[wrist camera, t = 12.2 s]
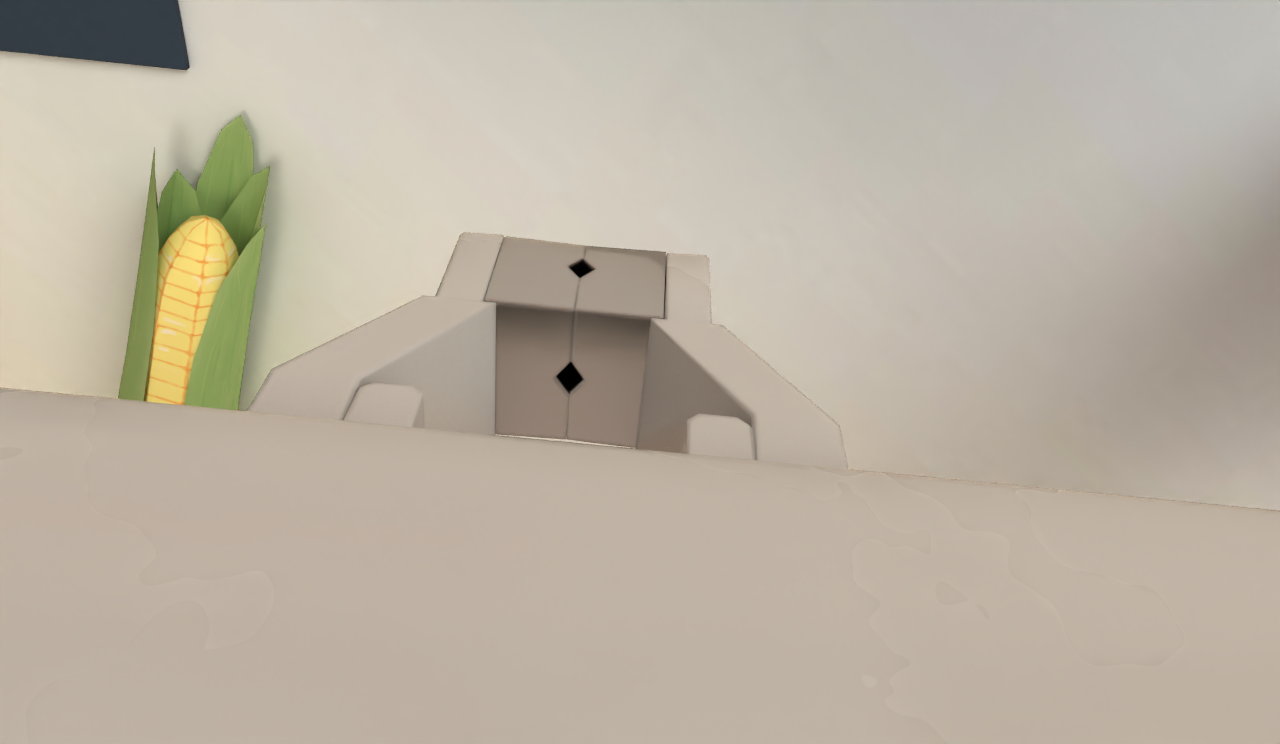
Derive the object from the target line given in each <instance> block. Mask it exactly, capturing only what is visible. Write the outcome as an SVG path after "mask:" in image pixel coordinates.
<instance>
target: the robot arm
mask: <svg viewBox="0 0 1280 744" xmlns="http://www.w3.org/2000/svg"><path fill="white" fill-rule="evenodd" d="M495 434H498V435H495ZM499 435H513V436H527V437H541V438H555V439H568V440H576V441H584V442H592V443H600V444H609V445H617V446H625V447H633V448H636V449H633V448H623V447H613V446H602V445H592V444H582V443H571V442H561V441H550V440H540V439H530V438H519V437H509V436H499ZM0 744H1280V511H1279V510H1269V509H1258V508H1248V507H1238V506H1227V505H1217V504H1206V503H1196V502H1186V501H1175V500H1165V499H1154V498H1144V497H1134V496H1123V495H1113V494H1102V493H1092V492H1081V491H1071V490H1061V489H1050V488H1040V487H1029V486H1019V485H1009V484H998V483H988V482H977V481H967V480H957V479H946V478H936V477H925V476H915V475H904V474H894V473H884V472H873V471H863V470H852V469H848V465H847V460H846V455H845V450H844V445H843V440H842V435H841V430H840V426H839V425H838V424H837V423H836V422H835V421H834V420H833V419H831V418H830V417H829V416H828V415H827V414H826V413H824V412H823V411H822V410H821V409H820V408H819V407H817V406H816V405H815V404H814V403H813V402H812V401H810V400H809V399H808V398H807V397H806V396H805V395H803V394H802V393H801V392H800V391H799V390H798V389H796V388H795V387H794V386H793V385H792V384H791V383H790V382H788V381H787V380H786V379H785V378H784V377H783V376H781V375H780V374H779V373H778V372H777V371H776V370H774V369H773V368H772V367H771V366H770V365H769V364H767V363H766V362H765V361H764V360H763V359H762V358H760V357H759V356H758V355H757V354H756V353H755V352H753V351H752V350H751V349H750V348H749V347H748V346H746V345H745V344H744V343H743V342H742V341H741V340H739V339H738V338H737V337H736V336H735V335H734V334H732V333H731V332H730V331H729V330H728V329H727V328H725V327H724V326H723V325H716V324H712V312H711V289H710V266H709V258H708V257H707V256H706V255H692V254H674V253H667V254H666V252H659V251H646V250H633V249H620V248H607V247H594V246H584V245H576V244H567V243H559V242H551V241H542V240H534V239H525V238H517V237H509V236H506V237H504V236H503V235H498V234H484V233H470V232H464V233H462V234H461V235H460V236H459V239H458V241H457V244H456V246H455V249H454V251H453V254H452V256H451V259H450V261H449V264H448V266H447V269H446V271H445V273H444V276H443V278H442V281H441V283H440V286H439V288H438V291H437V293H436V296H435V297H434V296H422V297H420V298H418V299H416V300H414V301H411V302H409V303H407V304H405V305H403V306H401V307H399V308H397V309H395V310H393V311H391V312H389V313H387V314H385V315H383V316H380V317H378V318H376V319H374V320H372V321H370V322H368V323H366V324H364V325H362V326H360V327H358V328H356V329H354V330H352V331H350V332H347V333H345V334H343V335H341V336H339V337H337V338H335V339H333V340H331V341H329V342H327V343H325V344H323V345H321V346H319V347H316V348H314V349H312V350H310V351H308V352H306V353H304V354H302V355H300V356H298V357H296V358H294V359H292V360H290V361H288V362H286V363H283V364H281V365H279V366H277V367H275V368H273V369H271V371H270V373H269V374H268V376H267V378H266V379H265V381H264V383H263V384H262V386H261V388H260V389H259V391H258V393H257V394H256V396H255V398H254V399H253V401H252V403H251V404H250V406H249V408H248V409H247V411H240V410H230V409H219V408H209V407H199V406H188V405H178V404H168V403H157V402H147V401H137V400H126V399H116V398H105V397H95V396H84V395H73V394H63V393H52V392H42V391H31V390H21V389H10V388H0Z"/></svg>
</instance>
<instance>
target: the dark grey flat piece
mask: <svg viewBox="0 0 1280 744" xmlns="http://www.w3.org/2000/svg"><path fill="white" fill-rule="evenodd" d="M0 51H9V52H19V53H29V54H38V55H48V56H57V57H67V58H76V59H86V60H95V61H105V62H114V63H124V64H133V65H143V66H152V67H162V68H172V69H181V70H187V69H188V68H189V62H188V56H187V51H186V45H185V39H184V34H183V28H182V23H181V17H180V11H179V6H178V0H0Z"/></svg>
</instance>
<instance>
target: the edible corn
mask: <svg viewBox="0 0 1280 744" xmlns="http://www.w3.org/2000/svg"><path fill="white" fill-rule="evenodd" d="M269 170H270V166H269V167H267V168H266V169H264V170H262V171H260V172H258V173H257V174H255V175H253V143H252V140H251V138H250V135H249V133H248V131H247V128H246V126H245V124H244V121H243V119H242V117H241V115H240V116H238V117H237V118H236V119H234V120H233V121H232V122H231V123H229V124H228V125H227V126H226V127H224V128H223V129H222V130H221V131H220V133H219V136H218V138H217V140H216V143H215V145H214V147H213V149H212V152H211V154H210V156H209V158H208V161H207V163H206V165H205V167H204V170H203V172H202V174H201V177H200V179H199V181H198V184H197V187H196V190H194V189H193V187H192V186H191V185H190V184H189V183H188V181H187V180H186V179H185V178H184V177H183V175H182V174H181V173H180V172H179V171H178V169H176V171H175V172H174V174H173V176H172V177H171V179H170V180H169V182H168V183H167V185H166V187H165V188H164V190H163V191H162V194H161V198H160V202H159V207H158V204H157V192H156V180H155V147H154V155H153V163H152V170H151V178H150V185H149V193H148V201H147V208H146V216H145V223H144V231H143V239H142V246H141V254H140V261H139V268H138V275H137V282H136V289H135V296H134V302H133V309H132V316H131V323H130V330H129V336H128V343H127V350H126V356H125V361H124V367H123V373H122V378H121V384H120V389H119V395H118V399H126V400H137V401H147V402H157V403H168V404H178V405H188V406H199V407H209V408H219V409H230V410H238V405H239V398H240V391H241V383H242V376H243V369H244V361H245V353H246V346H247V339H248V332H249V325H250V319H251V312H252V306H253V300H254V293H255V287H256V282H257V277H258V272H259V265H260V258H261V250H262V243H263V237H264V231H265V225H266V223H265V225H264V226H263V227H262V228H261V229H260V226H261V219H262V213H263V207H264V201H265V195H266V188H267V182H268V176H269Z"/></svg>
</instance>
